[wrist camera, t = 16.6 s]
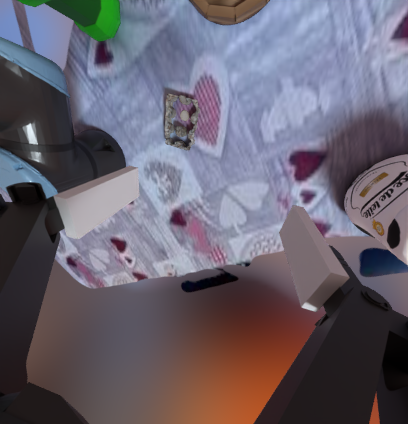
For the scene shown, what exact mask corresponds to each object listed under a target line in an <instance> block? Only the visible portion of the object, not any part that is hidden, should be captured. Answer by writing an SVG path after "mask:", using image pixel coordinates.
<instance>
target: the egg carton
mask: <svg viewBox="0 0 408 424" xmlns="http://www.w3.org/2000/svg"><path fill="white" fill-rule="evenodd" d="M178 97H179V100H180V102H181V103H182V104H185V105H189V104H190V103H191V101H193V104H194V106H195V107H196V113H193V114H192V116H191V120H190V121H191V122H192V123H193V124H195V126H194V127H193V129H192V130H190V131H189V133H188V138H189V139H190V140H191V142H190V143H189V146H188V147H186V145H185V143H184V142H183V141H177V142H175V143H173V140H172V139H171V138H170V133H173V132H174V130H175V127H174V125H173V124H172V121H171V118H174V117H175V116H176V110H175V109H174V108H173V102H175V101H176V100H177V99H178ZM198 113H200V108H199V107H198V101H197V100H193V99H191V98H186V97H185V96H182V95H180V96H176V95H172V94H167V99H166V116H165V119H166V120H165V136H166V141H165V143H166V144H168V145H171V146H174V147H177V148H180V149H184V150H190V148H191V145H193V144H195V140H194V139H193V138H194V132H195V129H197V120H198ZM180 116H181V119H182V120H183V121H187V120H188V119H189V113H188V111H186V110H184V111H182V112H181V114H180ZM176 135H177V136H179V137H184V136H186V135H187V129H186V127H184V126H176Z"/></svg>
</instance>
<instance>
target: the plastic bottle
mask: <svg viewBox="0 0 408 424" xmlns="http://www.w3.org/2000/svg"><path fill="white" fill-rule="evenodd" d="M18 1H20V2H21V3H23V4H26V5H29V6H33V7H36V6H39V5H41V4H43V3H45V4H46V5H48V6H50V7H52V8H53V9H55V10H57V11H58V12H60V13H62V14H63V15H65V16H67V17H69V18H70V19H72V20H73V21H74V22H75V24H76V25H77V26H78V27H79V29H80V30H82V31H83V32H85V33H86V34H88V35H89V36H91V37H92V38H94V39H95V40H97V41H104V40H107V39H111V38H114V36H115V34H116V32H117V30H118V28H119V25H120V2H119V0H18Z"/></svg>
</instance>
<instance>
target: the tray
mask: <svg viewBox="0 0 408 424" xmlns="http://www.w3.org/2000/svg"><path fill="white" fill-rule="evenodd" d="M190 1H191V2H192V3H193V5H194V6H195V8H196V9H197V10H198V11H199V13H200V14H202V15H203V16H204V17H205V18H206V19H207V20H209V21H211V22H214V23H216V24H220V25H234V24H238V23H241V22H244V21H245V20H247V19H249V18H251V17H252V16H254V15H255V14H257V13H258V12H259V11H260V10H261V9H262V8H263V7H264V6H265V5H266V4H267V3H268V2H269V1H270V0H190Z"/></svg>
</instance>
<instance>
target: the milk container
mask: <svg viewBox="0 0 408 424" xmlns="http://www.w3.org/2000/svg"><path fill="white" fill-rule="evenodd" d="M344 206H345V210H346V213H347V215H348V217H349V219H350V220H351V221H352V223H353V224H354V225H355V226H356V227H357V228H358V229H360V230H361V231H362V232H364V233H366V234H367V235H369V236H371V237H374V238H376V239H378V240H379V241H380V242H381V243H382V244H383V245H384V246H385V247H386V248H387V249H388V250H389V251H390V252H392V253H393V254H394V255H395V256H396V257H398V258H399V259H400V260H401V261H403V262H404V263H406V264H407V265H408V154H405V155H400V156H395V157H392V158H389V159H386V160H383V161H381V162H379V163H376V164H375V165H373V166H371V167H370V168H368V169H366V170H365V171H364V172H362V173H361V174H360V175H359V176H358V177H357V178H356V179H355V180H354V181H353V182H352V184H351V185H350V187H349V189H348V191H347V193H346V196H345V201H344Z"/></svg>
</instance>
